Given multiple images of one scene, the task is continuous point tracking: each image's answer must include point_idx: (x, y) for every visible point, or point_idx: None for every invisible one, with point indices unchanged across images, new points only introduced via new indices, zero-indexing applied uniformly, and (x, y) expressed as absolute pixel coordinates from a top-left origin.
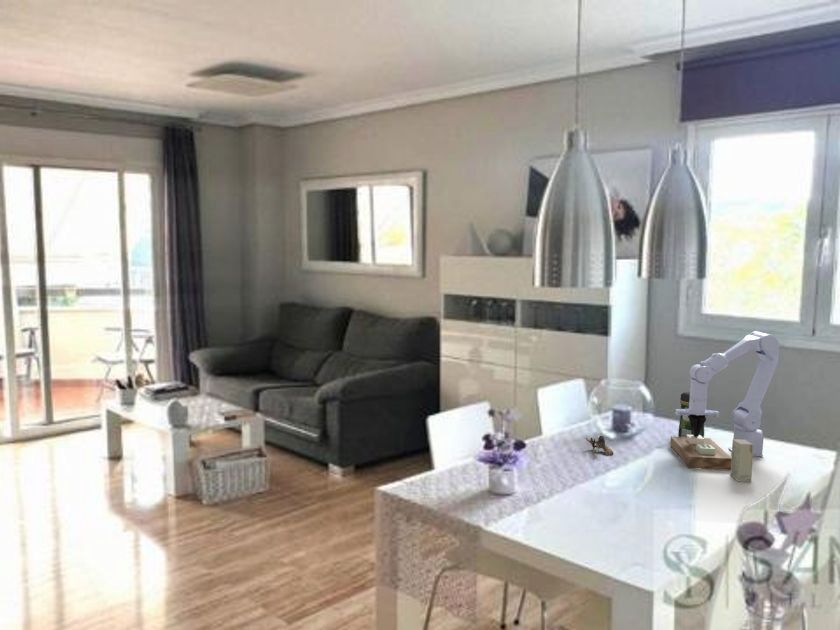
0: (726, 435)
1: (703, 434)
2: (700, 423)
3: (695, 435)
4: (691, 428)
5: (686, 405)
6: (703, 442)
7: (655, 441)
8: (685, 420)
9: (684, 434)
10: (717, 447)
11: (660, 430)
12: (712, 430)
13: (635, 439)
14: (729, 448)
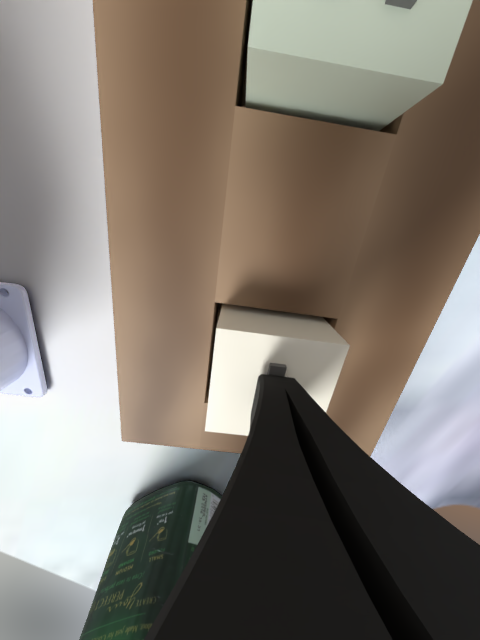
0: (23, 537)
1: (123, 524)
2: (294, 530)
3: (291, 380)
4: (186, 557)
5: None
6: (225, 316)
7: None
8: None
9: None
10: (134, 217)
11: None
12: (66, 573)
13: (427, 496)
14: (40, 383)
